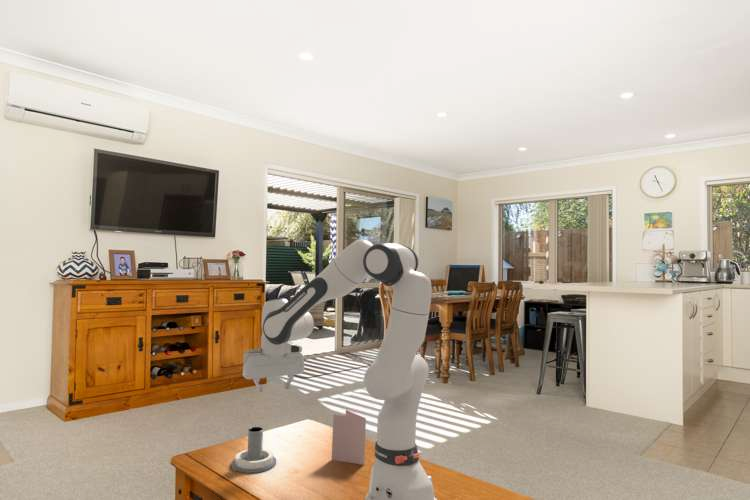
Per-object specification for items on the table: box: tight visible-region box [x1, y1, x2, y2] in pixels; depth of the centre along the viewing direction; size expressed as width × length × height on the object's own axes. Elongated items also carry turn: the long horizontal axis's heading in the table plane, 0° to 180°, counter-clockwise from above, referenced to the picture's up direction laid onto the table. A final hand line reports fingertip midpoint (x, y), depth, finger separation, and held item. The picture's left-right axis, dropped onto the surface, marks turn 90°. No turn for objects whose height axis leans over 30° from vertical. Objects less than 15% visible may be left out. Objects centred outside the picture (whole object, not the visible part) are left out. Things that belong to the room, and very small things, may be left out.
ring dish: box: [231, 448, 277, 474], centre depth 155 cm, size 14×14×3 cm
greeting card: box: [331, 409, 367, 466], centre depth 160 cm, size 11×7×15 cm, turn 38°
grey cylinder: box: [247, 426, 264, 461], centre depth 155 cm, size 4×4×10 cm
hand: (273, 390), depth 158 cm, fingers open, 8 cm apart
